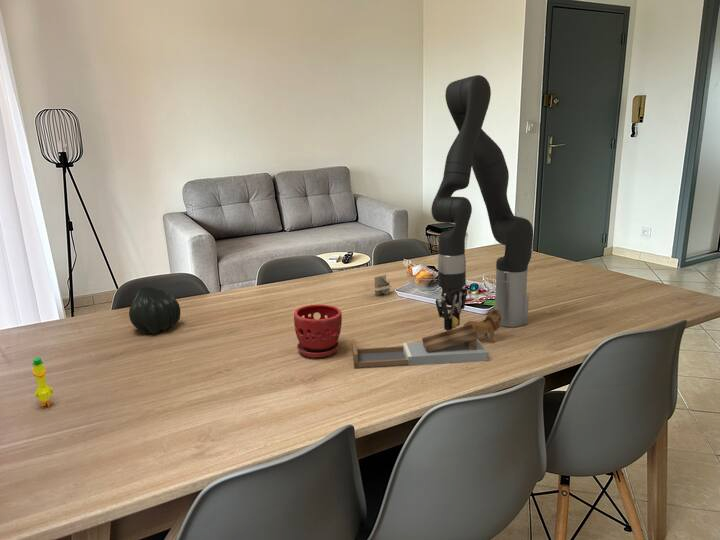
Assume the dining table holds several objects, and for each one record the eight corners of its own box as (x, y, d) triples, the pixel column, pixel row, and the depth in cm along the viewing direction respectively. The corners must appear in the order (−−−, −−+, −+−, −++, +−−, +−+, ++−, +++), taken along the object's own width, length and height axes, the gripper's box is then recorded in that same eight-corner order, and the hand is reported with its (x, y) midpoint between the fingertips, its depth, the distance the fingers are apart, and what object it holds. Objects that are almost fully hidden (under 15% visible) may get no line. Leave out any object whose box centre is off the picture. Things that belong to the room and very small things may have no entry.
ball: (456, 325, 156) (456, 313, 155) (460, 330, 152) (460, 317, 151) (444, 326, 156) (444, 314, 155) (447, 331, 152) (447, 318, 151)
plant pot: (306, 365, 144) (304, 322, 141) (289, 348, 155) (286, 308, 152) (351, 354, 150) (349, 313, 146) (331, 338, 161) (329, 300, 158)
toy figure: (35, 401, 129) (25, 355, 126) (52, 396, 131) (43, 350, 128) (39, 412, 124) (29, 364, 121) (57, 407, 126) (47, 359, 123)
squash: (192, 313, 171) (170, 274, 174) (146, 328, 160) (124, 286, 164) (179, 333, 180) (159, 295, 184) (136, 348, 170) (115, 308, 174)
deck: (477, 347, 152) (477, 339, 151) (487, 360, 143) (487, 352, 142) (403, 351, 150) (402, 343, 150) (408, 365, 142) (407, 356, 141)
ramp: (472, 341, 149) (473, 323, 148) (478, 350, 144) (478, 331, 142) (421, 344, 148) (421, 326, 147) (425, 353, 143) (425, 334, 142)
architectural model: (392, 295, 201) (392, 276, 199) (378, 299, 197) (377, 279, 195) (386, 293, 203) (386, 274, 201) (372, 297, 199) (371, 278, 197)
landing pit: (403, 351, 150) (402, 338, 149) (408, 365, 142) (407, 351, 141) (352, 354, 149) (351, 340, 148) (354, 368, 141) (353, 354, 140)
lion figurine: (493, 334, 160) (494, 305, 158) (505, 340, 156) (507, 310, 154) (452, 344, 154) (453, 314, 152) (464, 350, 150) (464, 319, 147)
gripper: (452, 261, 157) (453, 317, 161) (426, 273, 146) (427, 333, 151) (476, 265, 152) (476, 322, 157) (450, 277, 142) (450, 338, 146)
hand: (452, 327), depth 154 cm, fingers closed on ball, 3 cm apart
